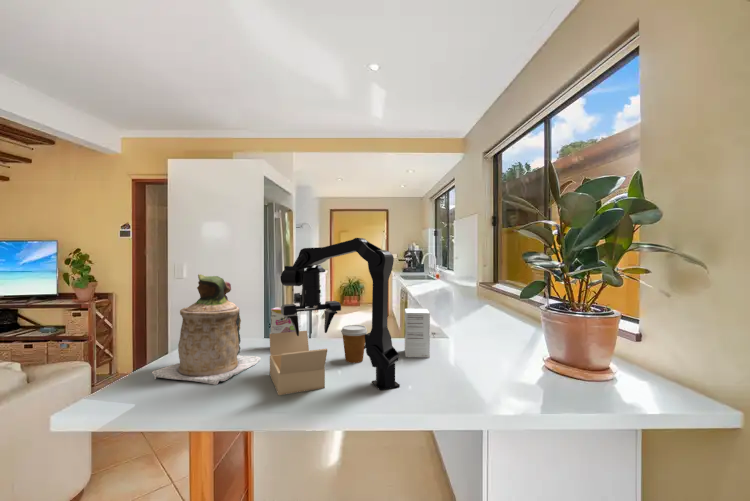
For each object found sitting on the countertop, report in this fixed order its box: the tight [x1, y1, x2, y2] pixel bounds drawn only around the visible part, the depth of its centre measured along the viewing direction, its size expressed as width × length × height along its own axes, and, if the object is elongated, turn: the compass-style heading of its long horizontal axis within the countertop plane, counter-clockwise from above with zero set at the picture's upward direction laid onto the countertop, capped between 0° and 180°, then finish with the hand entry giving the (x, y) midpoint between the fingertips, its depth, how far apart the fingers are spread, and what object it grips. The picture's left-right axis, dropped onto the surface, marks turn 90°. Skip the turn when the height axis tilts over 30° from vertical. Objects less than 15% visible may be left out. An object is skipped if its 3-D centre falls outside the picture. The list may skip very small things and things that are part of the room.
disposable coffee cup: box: [340, 324, 368, 364], centre depth 128 cm, size 10×10×12 cm
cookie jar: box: [151, 273, 262, 386], centre depth 118 cm, size 25×25×32 cm
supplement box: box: [404, 308, 431, 359], centre depth 136 cm, size 10×9×17 cm
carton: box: [269, 354, 326, 396], centre depth 107 cm, size 18×13×6 cm
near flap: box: [280, 348, 328, 375], centre depth 97 cm, size 7×12×1 cm
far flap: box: [269, 330, 310, 357], centre depth 117 cm, size 7×12×1 cm
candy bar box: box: [270, 306, 302, 334], centre depth 143 cm, size 11×5×16 cm, turn 84°
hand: (311, 334), depth 115 cm, fingers open, 9 cm apart
